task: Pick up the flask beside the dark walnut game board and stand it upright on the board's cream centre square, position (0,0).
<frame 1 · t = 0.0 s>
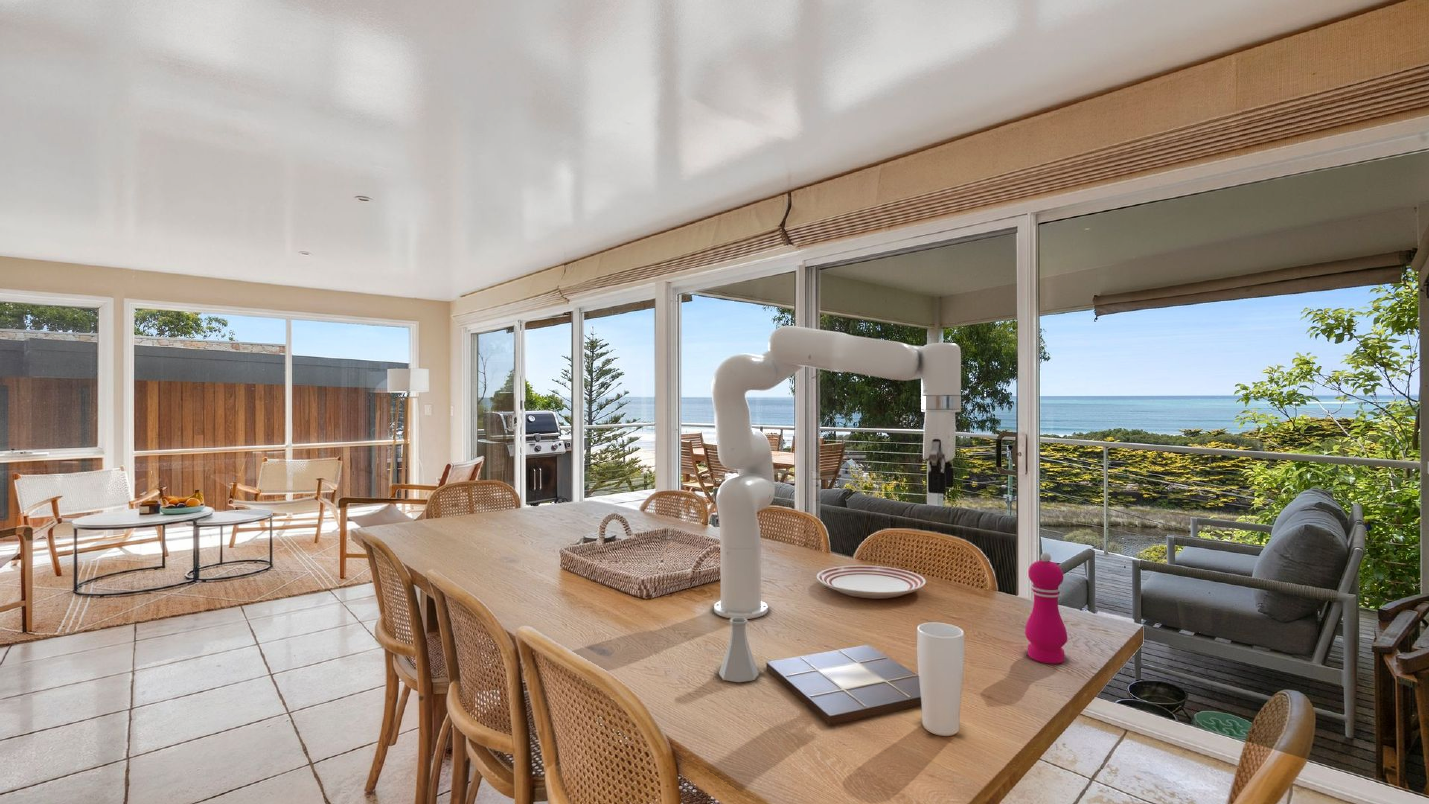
hand: (941, 489, 131), 31 cm above the table, tool pointing down, fingers open, 9 cm apart
pepper mill: (1045, 658, 125), on the table
flask: (738, 676, 118), on the table
dinner plate: (870, 589, 170), on the table
drinking glass: (940, 730, 99), on the table
board: (851, 684, 114), on the table
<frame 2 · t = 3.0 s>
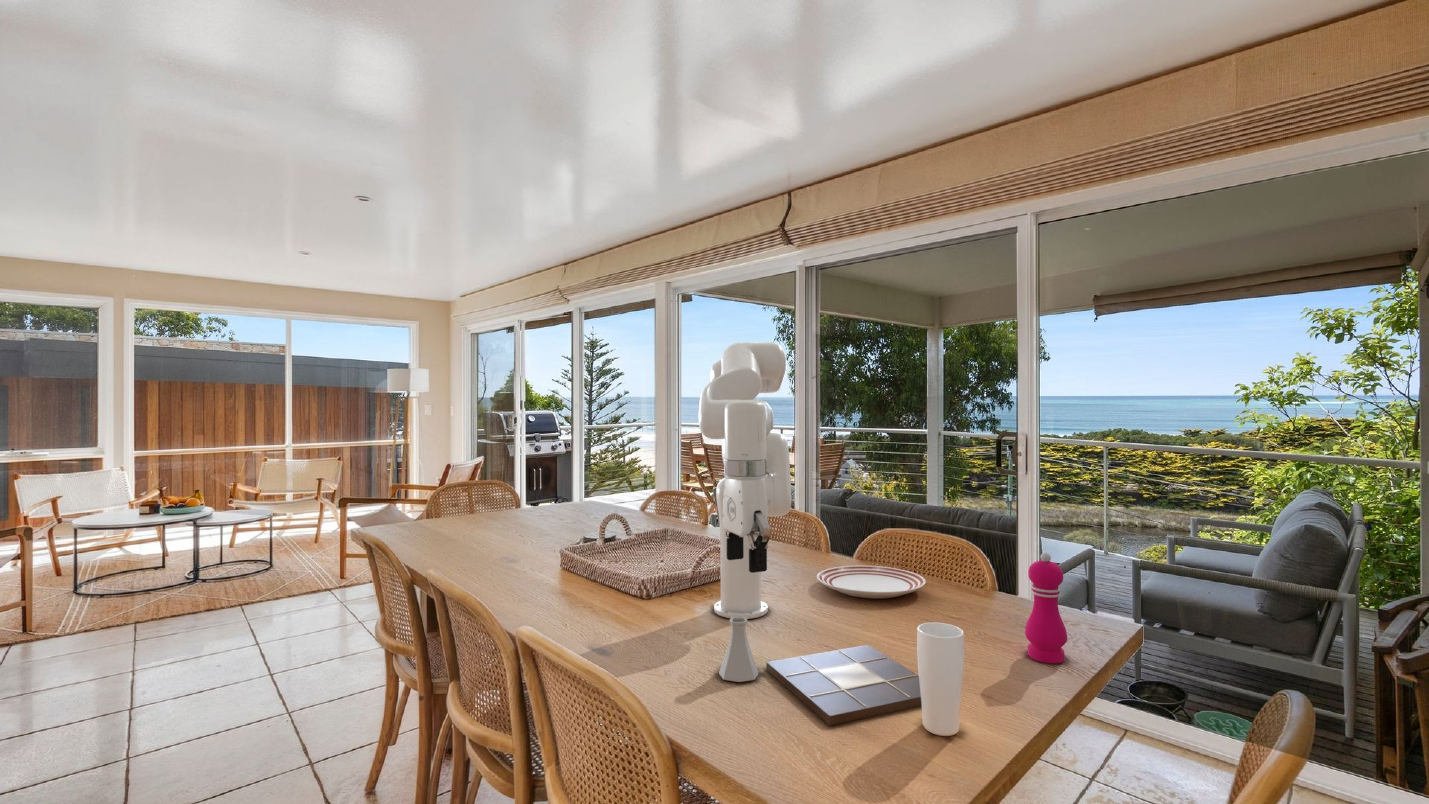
hand: (746, 565, 117), 20 cm above the table, tool pointing down, fingers open, 9 cm apart
nothing on the table moved.
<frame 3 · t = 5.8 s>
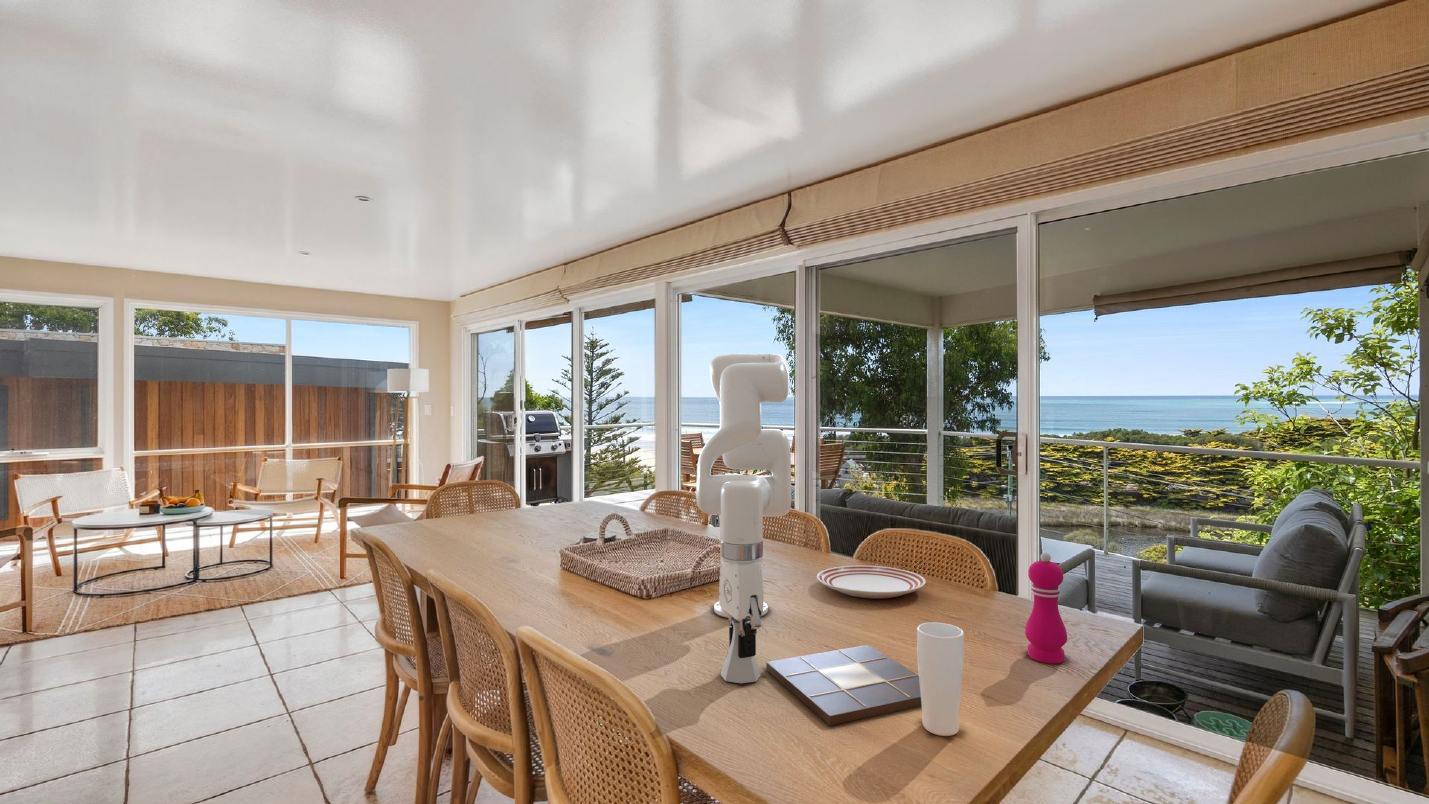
hand: (742, 651, 117), 4 cm above the table, tool pointing down, fingers closed on flask, 3 cm apart
flask: (740, 677, 117), on the table, touching gripper
everything else where it was.
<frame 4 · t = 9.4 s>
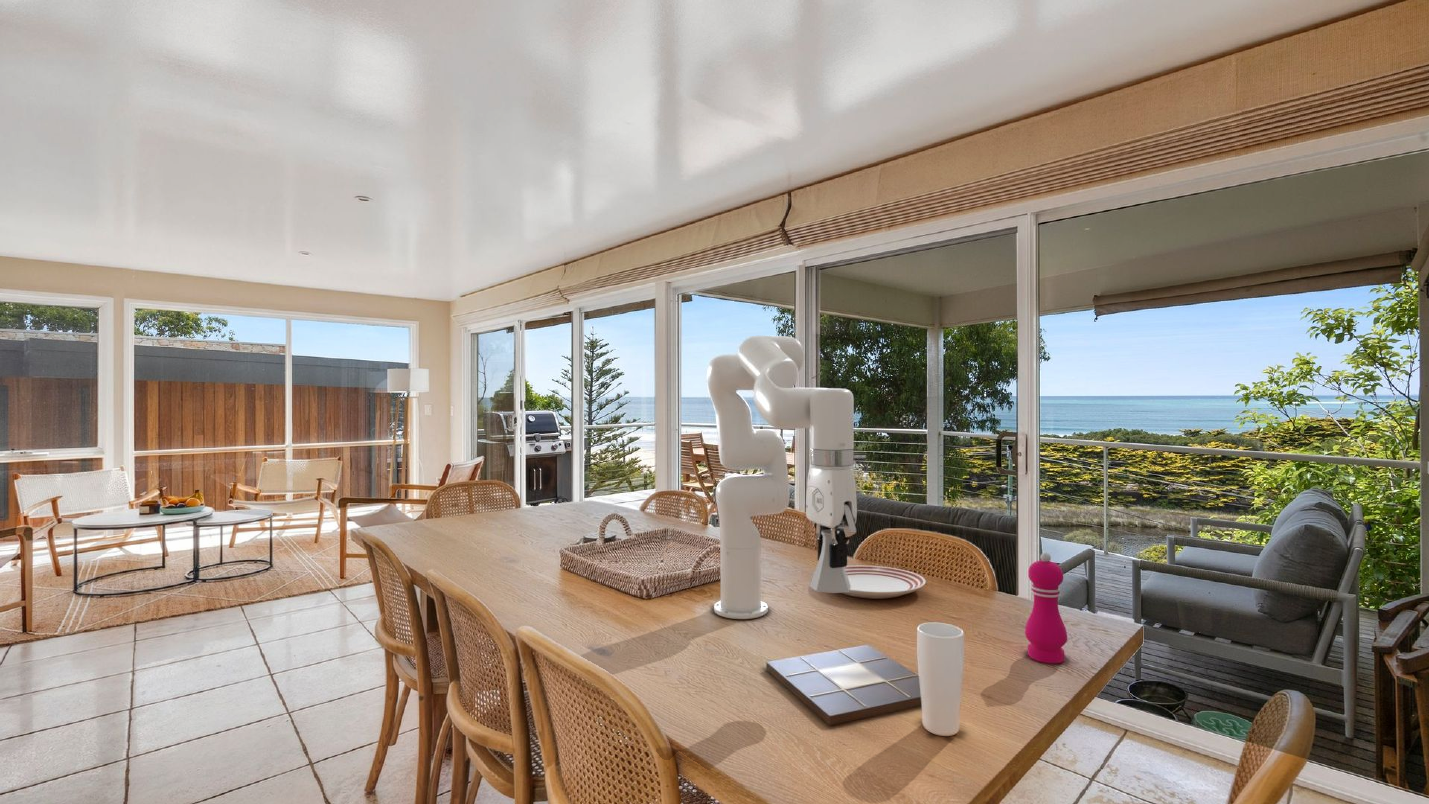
hand: (832, 563, 114), 21 cm above the table, tool pointing down, fingers closed on flask, 3 cm apart
flask: (830, 589, 114), point 16 cm above the table, touching gripper
everything else where it was.
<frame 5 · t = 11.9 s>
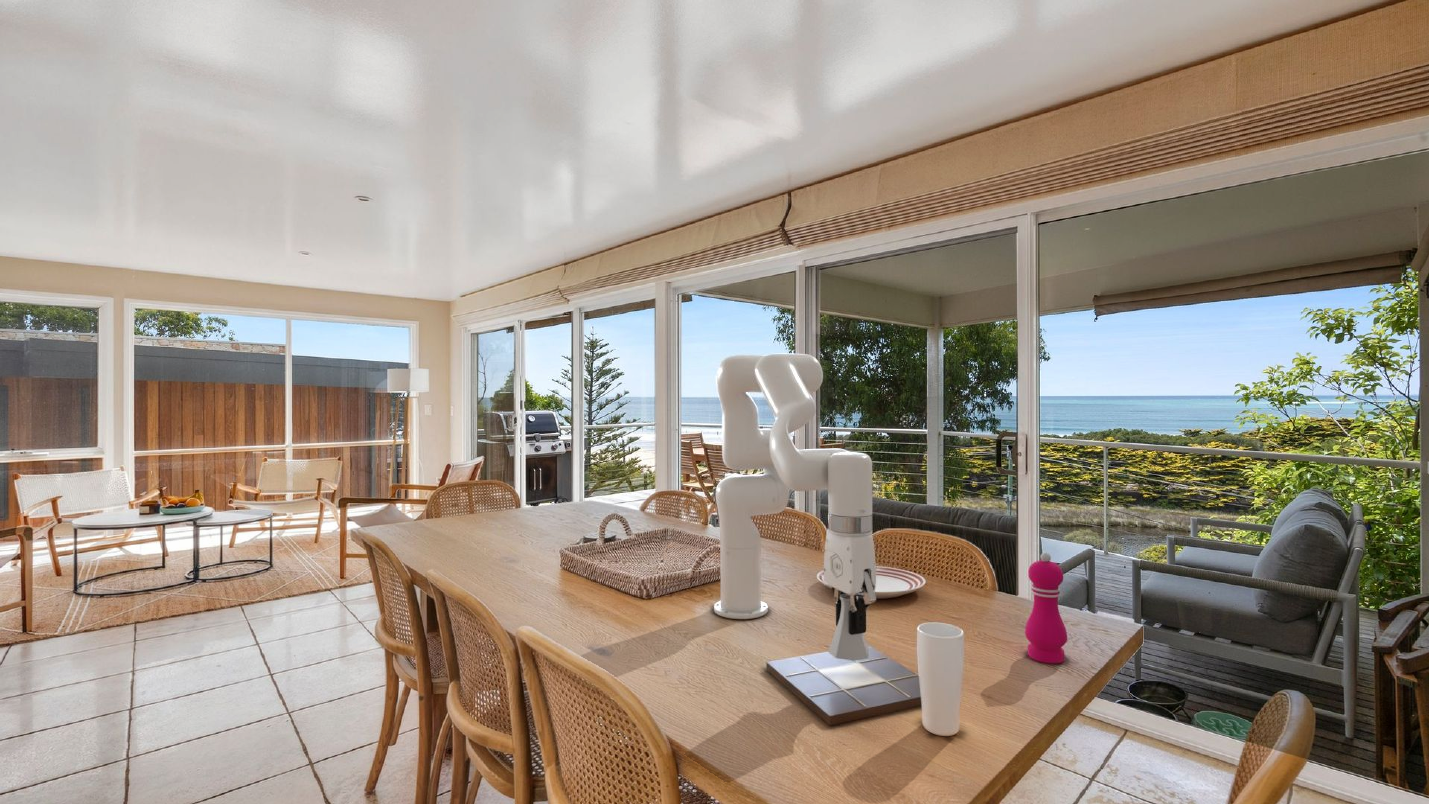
hand: (850, 628, 114), 10 cm above the table, tool pointing down, fingers closed on flask, 3 cm apart
flask: (848, 654, 114), point 5 cm above the table, touching gripper
everything else where it was.
when the fingers open (6 cm above the table, at t = 13.2 s): flask stays where it is, resting on board.
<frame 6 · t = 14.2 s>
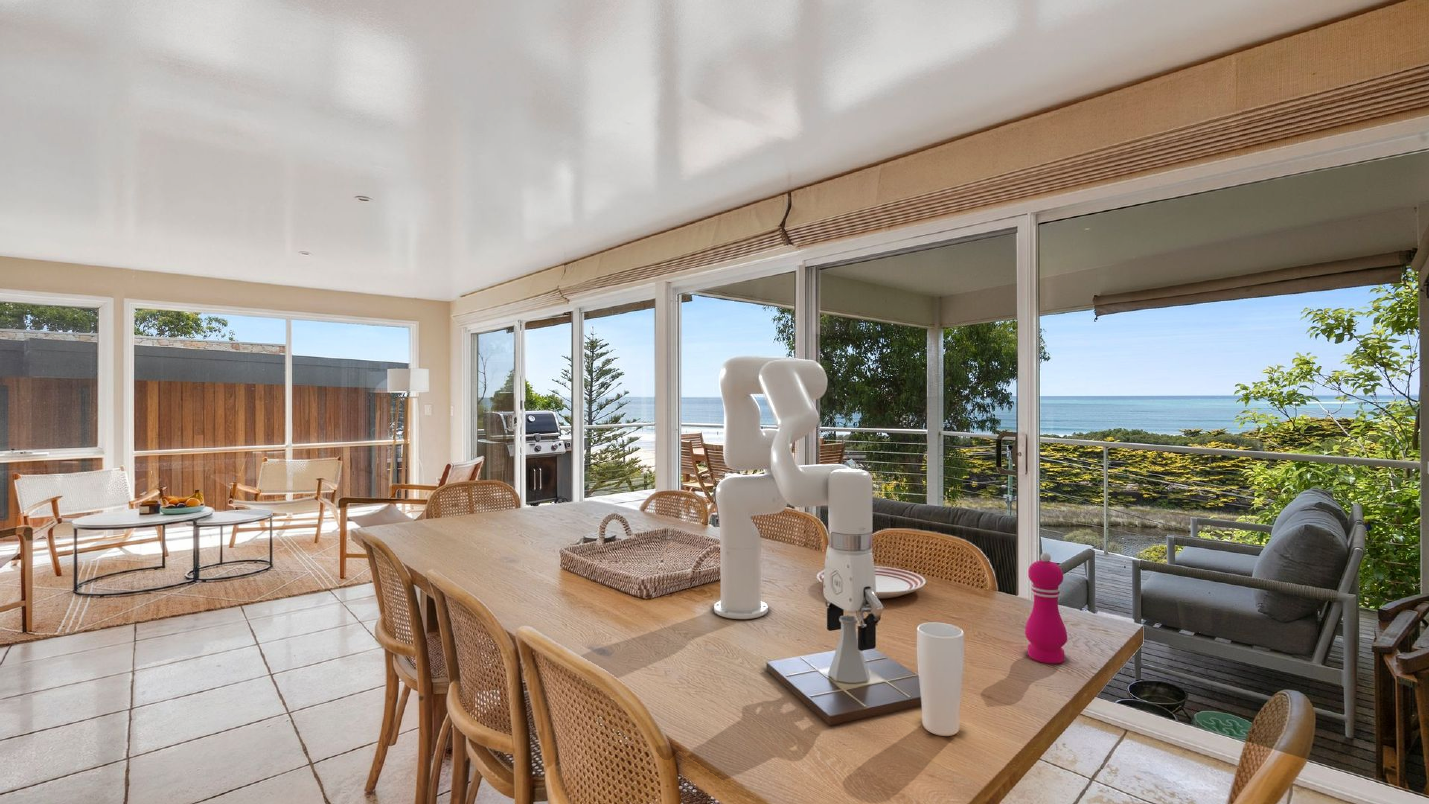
hand: (850, 638, 114), 8 cm above the table, tool pointing down, fingers open, 9 cm apart
flask: (848, 676, 114), point 1 cm above the table, touching board
everything else where it was.
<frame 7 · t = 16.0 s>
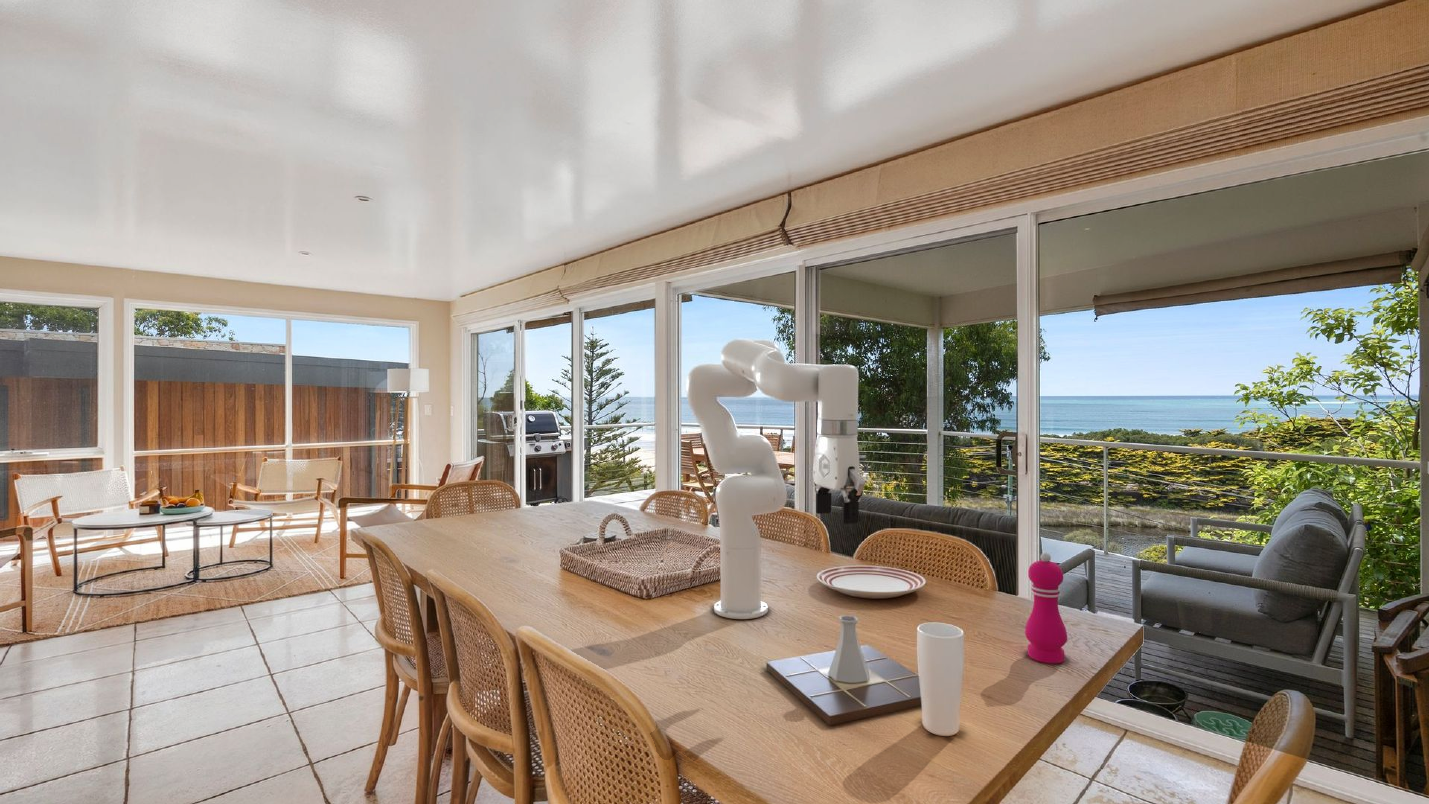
hand: (836, 517, 126), 27 cm above the table, tool pointing down, fingers open, 9 cm apart
nothing on the table moved.
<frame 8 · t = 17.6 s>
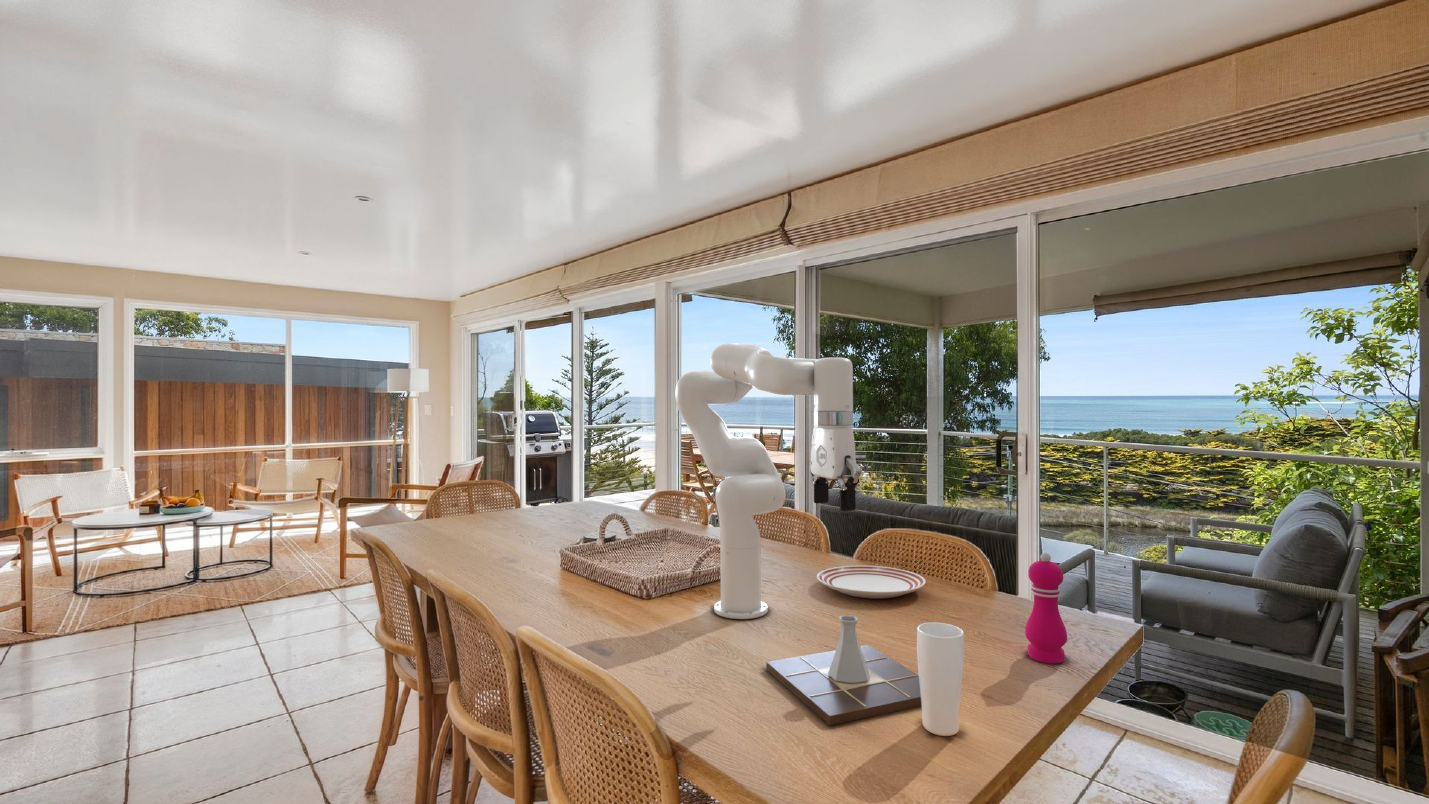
hand: (833, 506, 130), 28 cm above the table, tool pointing down, fingers open, 9 cm apart
nothing on the table moved.
at the end: flask 0.4 cm off-centre on the board, point 1.4 cm above the board's base; flask tilted 0°; the gripper is holding nothing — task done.
